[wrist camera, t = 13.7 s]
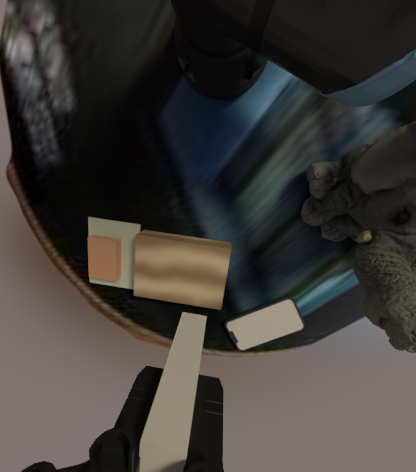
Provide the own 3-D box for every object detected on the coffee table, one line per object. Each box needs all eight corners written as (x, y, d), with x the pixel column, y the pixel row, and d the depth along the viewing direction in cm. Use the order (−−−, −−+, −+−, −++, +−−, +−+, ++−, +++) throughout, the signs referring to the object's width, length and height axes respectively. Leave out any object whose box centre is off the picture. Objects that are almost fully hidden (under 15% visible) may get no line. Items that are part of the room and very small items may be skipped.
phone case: (289, 291, 44) (222, 317, 47) (292, 295, 43) (222, 322, 45) (304, 324, 46) (238, 347, 49) (307, 329, 44) (239, 353, 47)
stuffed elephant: (285, 247, 41) (389, 363, 15) (305, 132, 36) (523, 0, 10) (386, 256, 40) (690, 399, 14) (423, 138, 34) (1044, 4, 8)
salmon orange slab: (116, 241, 41) (121, 238, 43) (87, 237, 42) (93, 234, 43) (116, 281, 44) (120, 277, 46) (88, 277, 44) (94, 273, 46)
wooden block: (144, 229, 43) (136, 234, 39) (230, 242, 42) (231, 249, 38) (141, 285, 46) (133, 295, 42) (221, 298, 45) (220, 310, 41)
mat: (89, 216, 43) (88, 217, 43) (140, 224, 42) (140, 224, 42) (90, 281, 47) (89, 282, 47) (137, 289, 46) (137, 290, 46)
